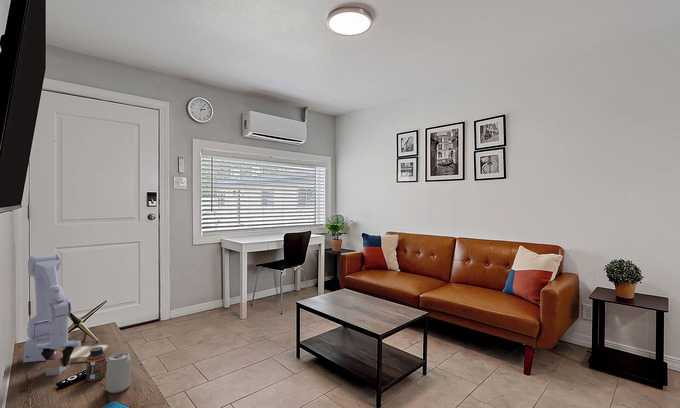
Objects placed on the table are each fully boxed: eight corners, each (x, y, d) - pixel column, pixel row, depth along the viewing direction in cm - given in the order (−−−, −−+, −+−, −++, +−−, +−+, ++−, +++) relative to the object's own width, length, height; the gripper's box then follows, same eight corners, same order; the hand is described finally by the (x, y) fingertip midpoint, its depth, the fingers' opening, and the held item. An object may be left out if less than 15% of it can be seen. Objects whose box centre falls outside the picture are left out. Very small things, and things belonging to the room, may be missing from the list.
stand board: (57, 363, 141) (57, 359, 141) (74, 349, 154) (74, 346, 154) (96, 360, 144) (96, 356, 144) (109, 346, 158) (109, 343, 158)
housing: (45, 375, 131) (46, 360, 131) (57, 366, 139) (57, 351, 139) (59, 374, 132) (59, 359, 132) (70, 364, 140) (70, 350, 140)
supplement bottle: (95, 383, 127) (95, 352, 127) (82, 381, 128) (82, 351, 128) (109, 375, 132) (109, 346, 132) (96, 373, 134) (97, 344, 134)
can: (126, 380, 129) (126, 349, 129) (133, 388, 124) (134, 355, 124) (103, 389, 123) (103, 356, 123) (110, 396, 118) (110, 362, 118)
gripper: (30, 337, 130) (30, 373, 130) (74, 334, 133) (74, 369, 133) (41, 330, 137) (41, 364, 137) (83, 328, 140) (83, 360, 140)
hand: (58, 366), depth 136 cm, fingers closed on housing, 4 cm apart
